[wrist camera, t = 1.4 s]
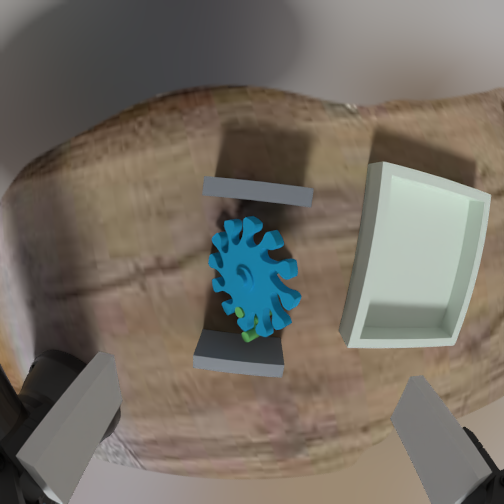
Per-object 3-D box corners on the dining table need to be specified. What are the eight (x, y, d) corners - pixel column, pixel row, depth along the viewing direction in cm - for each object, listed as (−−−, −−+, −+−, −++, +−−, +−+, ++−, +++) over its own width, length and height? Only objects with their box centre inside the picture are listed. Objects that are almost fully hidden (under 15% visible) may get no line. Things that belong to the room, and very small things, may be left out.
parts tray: (338, 330, 28) (347, 347, 25) (368, 163, 25) (383, 161, 21) (439, 331, 28) (454, 345, 25) (471, 192, 25) (491, 194, 21)
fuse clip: (202, 340, 29) (193, 367, 24) (214, 178, 25) (204, 176, 20) (278, 349, 29) (281, 377, 24) (302, 188, 25) (313, 188, 20)
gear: (204, 206, 24) (297, 238, 18) (254, 200, 28) (343, 225, 21) (203, 316, 28) (277, 371, 22) (247, 299, 32) (319, 341, 25)
